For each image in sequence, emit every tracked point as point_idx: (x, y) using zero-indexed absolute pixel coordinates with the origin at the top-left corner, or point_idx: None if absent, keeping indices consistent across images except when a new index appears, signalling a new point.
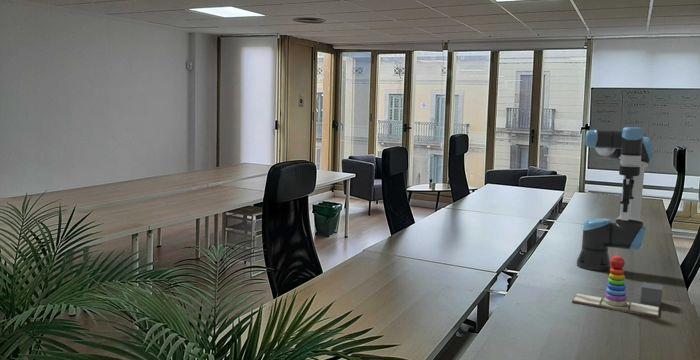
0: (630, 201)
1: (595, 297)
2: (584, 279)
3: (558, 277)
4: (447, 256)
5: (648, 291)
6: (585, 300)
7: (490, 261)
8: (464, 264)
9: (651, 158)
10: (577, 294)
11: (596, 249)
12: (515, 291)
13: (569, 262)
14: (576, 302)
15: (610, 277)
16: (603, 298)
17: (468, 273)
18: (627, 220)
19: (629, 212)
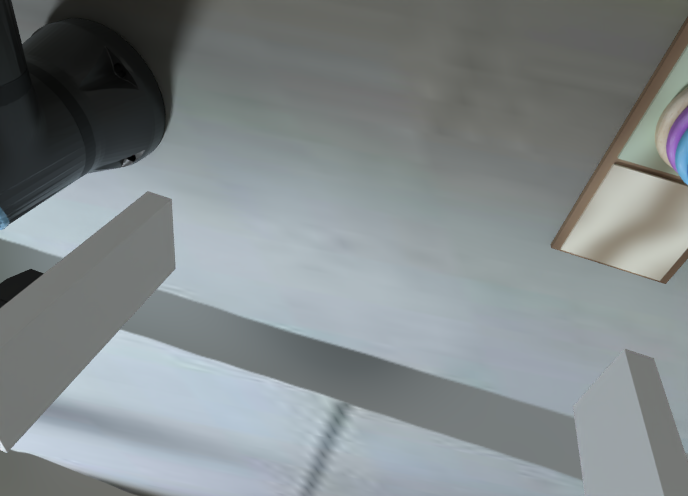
0: (10, 356)
1: (614, 191)
2: (314, 168)
3: (326, 254)
4: (246, 456)
5: None
6: (664, 239)
7: (238, 388)
8: (301, 443)
9: None
10: (575, 250)
11: (82, 133)
12: (538, 401)
13: (103, 177)
14: (675, 270)
15: None
16: (629, 160)
17: (384, 453)
18: (649, 363)
19: (150, 228)
